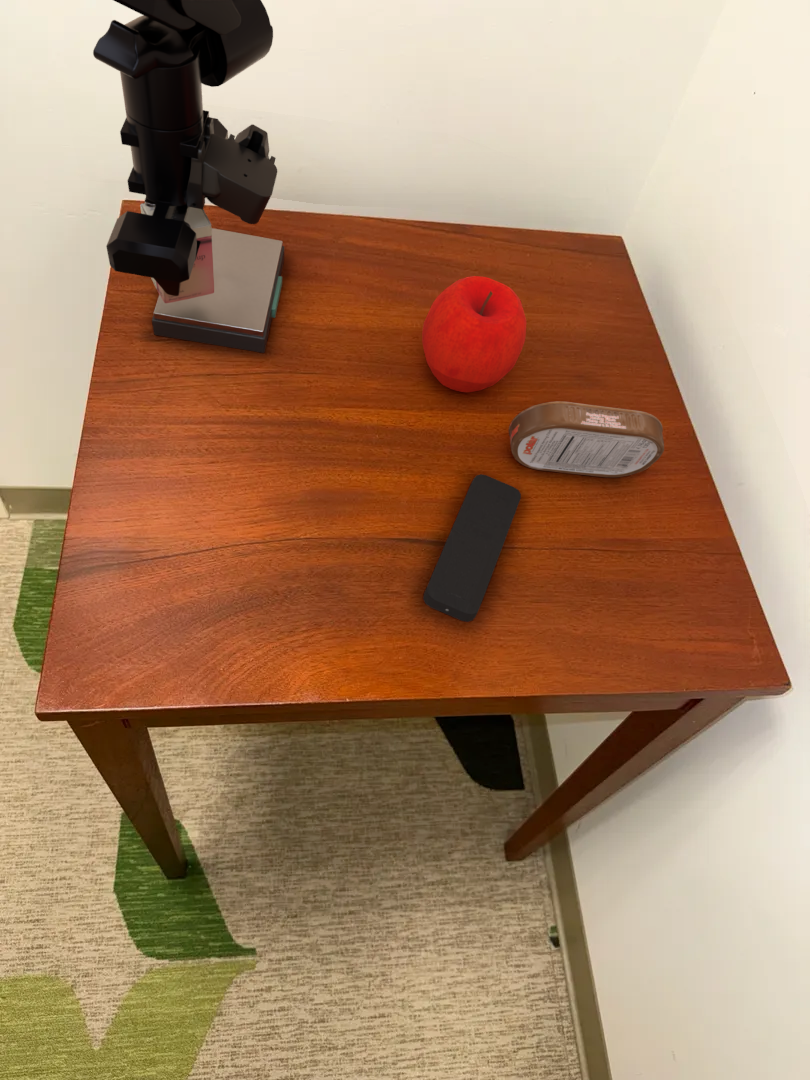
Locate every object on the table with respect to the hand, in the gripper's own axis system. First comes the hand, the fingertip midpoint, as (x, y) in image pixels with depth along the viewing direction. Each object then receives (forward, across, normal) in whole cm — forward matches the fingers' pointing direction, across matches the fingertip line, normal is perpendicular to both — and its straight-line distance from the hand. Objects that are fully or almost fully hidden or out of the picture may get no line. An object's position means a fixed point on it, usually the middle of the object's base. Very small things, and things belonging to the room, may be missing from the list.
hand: (180, 271), depth 72 cm
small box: (+2, 0, 0) cm, 2 cm away
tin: (+7, -10, -40) cm, 42 cm away
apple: (+7, -1, -28) cm, 29 cm away
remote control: (+7, -21, -30) cm, 38 cm away
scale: (+7, +5, -3) cm, 9 cm away
